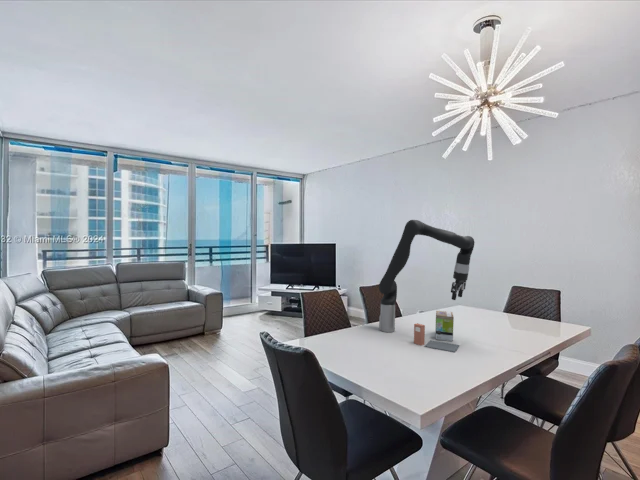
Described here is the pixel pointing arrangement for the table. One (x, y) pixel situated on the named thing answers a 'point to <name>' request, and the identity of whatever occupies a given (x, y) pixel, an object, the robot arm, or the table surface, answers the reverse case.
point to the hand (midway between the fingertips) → (456, 298)
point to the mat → (442, 346)
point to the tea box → (444, 325)
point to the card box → (419, 334)
